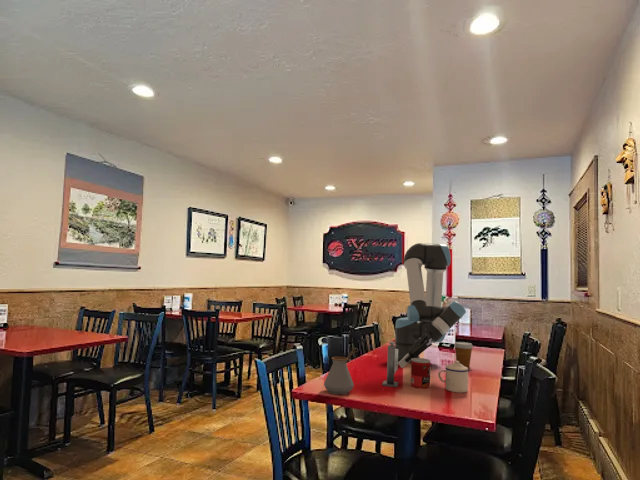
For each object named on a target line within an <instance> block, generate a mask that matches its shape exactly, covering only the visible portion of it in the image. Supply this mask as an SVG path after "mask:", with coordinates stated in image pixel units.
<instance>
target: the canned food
mask: <svg viewBox="0 0 640 480" xmlns="http://www.w3.org/2000/svg"><path fill="white" fill-rule="evenodd" d="M410 384H411V387H412V388H416V389H419V390H420V389H423V390H425V389H426V390H427V389H429V388H430V387H431V360H430V359H428V358H423V357H422V358H421V357H420V358H412V359H411V363H410Z"/></svg>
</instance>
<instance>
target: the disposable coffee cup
mask: <svg viewBox="0 0 640 480" xmlns="http://www.w3.org/2000/svg"><path fill="white" fill-rule="evenodd" d="M453 346H454V351H455V352H454V353H455V359H456V360H455V361H459V364H462V365H463V366H465V367H467V368H470V364H471V358H472V351H473V347H474V346H473V344H472V343H471V342H465V341H455V342H454V345H453Z"/></svg>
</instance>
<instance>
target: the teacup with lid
mask: <svg viewBox="0 0 640 480" xmlns="http://www.w3.org/2000/svg"><path fill="white" fill-rule="evenodd" d="M441 373H445V380H444V379H443V378H442V377H441ZM468 374H469V367H465V366H463V365H462V364H459V361H456V360H454V362H453V363H451V364H448V365H446V366H445V369H441V370H439V371H438V375H437V376H438V379H439V381H441V383H445V390H446V391H449V392H454V393H459V394H462V393H467V392H468V389H469V385H468V384H469V381H468V380H469V375H468Z"/></svg>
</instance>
